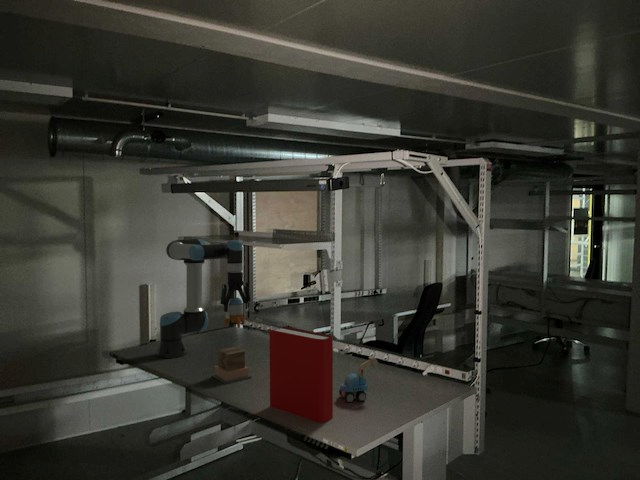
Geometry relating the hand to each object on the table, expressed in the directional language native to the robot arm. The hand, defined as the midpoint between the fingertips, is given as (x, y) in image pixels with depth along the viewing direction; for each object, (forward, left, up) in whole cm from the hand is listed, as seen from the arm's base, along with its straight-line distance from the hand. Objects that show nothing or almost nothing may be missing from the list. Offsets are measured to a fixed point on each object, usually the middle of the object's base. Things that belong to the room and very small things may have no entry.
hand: (235, 317), depth 251 cm
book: (+61, -3, -28) cm, 67 cm away
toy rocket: (0, -1, -4) cm, 4 cm away
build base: (+5, -5, -28) cm, 29 cm away
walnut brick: (+5, -5, -23) cm, 24 cm away
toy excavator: (+63, +26, -28) cm, 74 cm away
